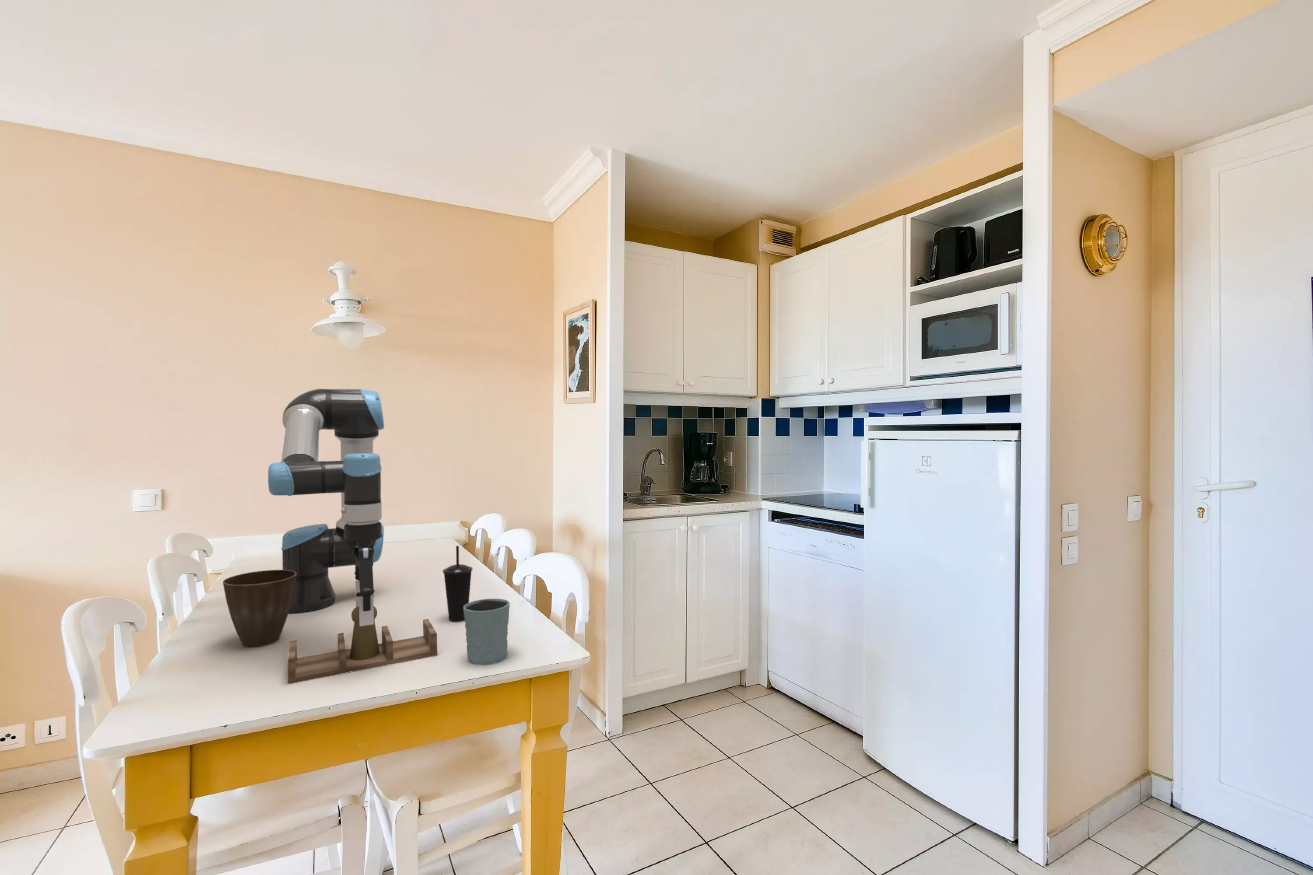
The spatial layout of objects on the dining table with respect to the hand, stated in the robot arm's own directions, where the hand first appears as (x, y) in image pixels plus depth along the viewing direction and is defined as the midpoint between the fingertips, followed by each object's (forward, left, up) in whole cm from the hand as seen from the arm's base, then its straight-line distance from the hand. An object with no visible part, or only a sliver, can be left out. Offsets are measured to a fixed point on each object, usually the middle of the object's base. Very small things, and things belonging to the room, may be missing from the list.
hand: (364, 616), depth 131 cm
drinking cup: (-18, +24, -10) cm, 32 cm away
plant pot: (-26, -21, -10) cm, 35 cm away
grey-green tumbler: (+13, +24, -10) cm, 29 cm away
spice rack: (0, 0, -10) cm, 10 cm away
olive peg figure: (0, 0, -9) cm, 9 cm away
